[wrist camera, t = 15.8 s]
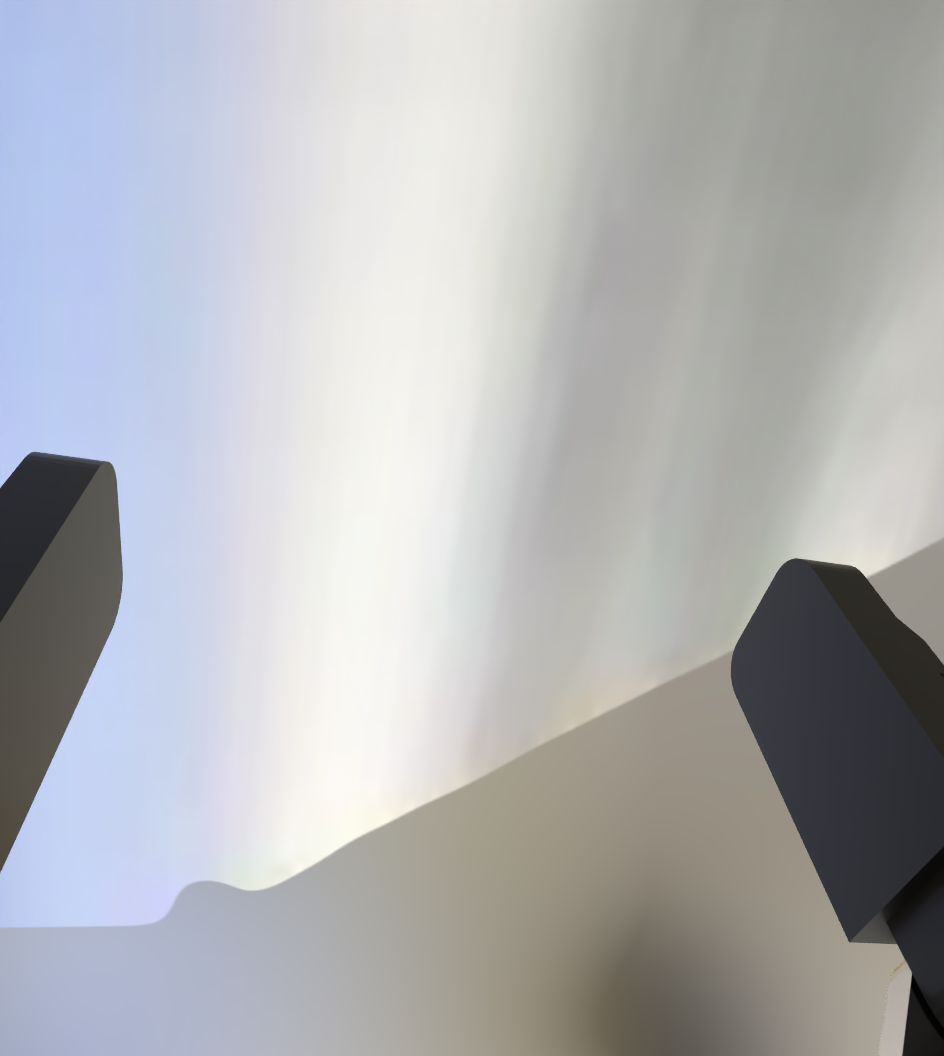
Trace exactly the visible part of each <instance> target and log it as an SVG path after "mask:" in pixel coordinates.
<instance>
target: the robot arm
mask: <svg viewBox="0 0 944 1056" xmlns="http://www.w3.org/2000/svg"><path fill="white" fill-rule="evenodd" d="M122 580H123V571H122V555H121V540H120V524H119V509H118V494H117V480H116V474H115V470H114V467H113V466H112V464H111V463H110V462H105V461H98V460H91V459H84V458H76V457H69V456H62V455H55V454H47V453H40V452H32V453H30V454H29V455H27V456H26V457H25V458H24V459H23V461H22V462H21V463H20V464H19V466H18V467H17V468H16V469H15V471H14V472H13V473H12V474H11V476H10V477H9V478H8V479H7V481H6V482H5V483H4V484H3V486H2V487H1V488H0V872H1V870H2V868H3V866H4V864H5V861H6V859H7V857H8V855H9V853H10V850H11V848H12V846H13V844H14V842H15V840H16V837H17V835H18V833H19V831H20V829H21V826H22V824H23V822H24V820H25V818H26V816H27V813H28V811H29V809H30V807H31V805H32V802H33V800H34V798H35V796H36V794H37V792H38V789H39V787H40V785H41V783H42V781H43V778H44V776H45V774H46V772H47V770H48V768H49V765H50V763H51V761H52V759H53V757H54V754H55V752H56V750H57V748H58V746H59V744H60V741H61V739H62V737H63V735H64V733H65V731H66V728H67V726H68V724H69V722H70V720H71V717H72V715H73V713H74V711H75V709H76V707H77V704H78V702H79V700H80V698H81V696H82V693H83V691H84V689H85V687H86V685H87V683H88V680H89V678H90V676H91V674H92V672H93V669H94V667H95V665H96V663H97V661H98V659H99V656H100V654H101V652H102V650H103V648H104V645H105V643H106V641H107V639H108V637H109V635H110V632H111V630H112V628H113V625H114V622H115V620H116V616H117V613H118V608H119V604H120V599H121V592H122ZM731 679H732V685H733V689H734V692H735V695H736V697H737V699H738V701H739V703H740V706H741V708H742V710H743V712H744V714H745V717H746V719H747V721H748V723H749V725H750V727H751V730H752V732H753V734H754V736H755V738H756V740H757V743H758V745H759V747H760V749H761V751H762V754H763V756H764V758H765V760H766V762H767V764H768V766H769V769H770V771H771V773H772V775H773V777H774V779H775V782H776V784H777V786H778V788H779V791H780V793H781V795H782V797H783V799H784V801H785V803H786V806H787V808H788V810H789V812H790V814H791V817H792V819H793V821H794V823H795V825H796V827H797V830H798V832H799V834H800V836H801V838H802V840H803V843H804V845H805V847H806V849H807V851H808V853H809V856H810V858H811V860H812V862H813V864H814V867H815V869H816V871H817V873H818V875H819V877H820V880H821V882H822V884H823V886H824V888H825V891H826V893H827V895H828V897H829V899H830V901H831V903H832V906H833V908H834V910H835V912H836V914H837V917H838V919H839V921H840V923H841V925H842V928H843V930H844V932H845V934H846V936H847V938H848V941H849V942H857V943H884V944H885V943H886V944H897V945H898V946H899V949H900V950H901V952H902V954H903V956H904V958H905V960H904V961H903V962H902V963H901V964H900V965H899V966H898V967H897V968H896V969H895V970H894V971H893V973H892V975H891V977H890V980H889V984H888V991H887V997H886V1004H885V1011H884V1018H883V1025H882V1032H881V1039H880V1046H879V1052H878V1056H944V665H943V664H942V663H941V661H940V660H939V659H938V657H937V656H936V655H935V653H934V652H933V651H932V650H931V649H930V647H929V646H928V645H927V643H926V642H925V641H924V640H923V639H922V638H920V637H919V636H918V635H917V634H916V633H915V632H913V631H912V630H911V629H910V628H909V627H907V626H906V625H905V624H903V623H902V622H901V621H900V620H899V619H898V618H896V616H895V615H894V614H893V612H892V611H891V610H890V609H889V607H888V606H887V605H886V603H885V602H884V601H883V599H882V598H881V597H880V596H879V594H878V593H877V592H876V591H875V589H874V588H873V586H872V585H871V584H870V583H869V581H868V580H867V579H866V577H865V576H864V575H863V574H862V573H861V572H860V570H858V569H857V568H855V567H853V566H849V565H841V564H834V563H827V562H820V561H812V560H805V559H797V558H796V559H791V560H789V561H787V562H786V563H784V564H783V565H782V566H781V568H780V569H779V570H778V572H777V573H776V575H775V577H774V579H773V580H772V582H771V584H770V586H769V587H768V589H767V591H766V593H765V594H764V596H763V598H762V600H761V602H760V603H759V605H758V607H757V609H756V610H755V612H754V614H753V616H752V617H751V619H750V621H749V623H748V625H747V626H746V628H745V630H744V632H743V633H742V635H741V637H740V639H739V640H738V642H737V644H736V646H735V649H734V652H733V656H732V662H731Z"/></svg>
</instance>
